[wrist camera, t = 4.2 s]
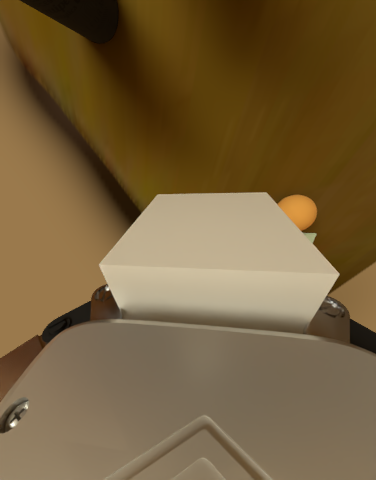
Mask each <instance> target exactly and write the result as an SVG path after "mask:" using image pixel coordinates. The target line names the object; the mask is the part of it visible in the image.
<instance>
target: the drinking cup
mask: <svg viewBox="0 0 376 480" xmlns="http://www.w3.org/2000/svg"><path fill="white" fill-rule="evenodd" d="M20 1H22V2H24V3H26V4H27V5H29V6H31V7H33V8H34V9H36V10H38V11H40V12H41V13H43V14H45V15H47V16H49V17H50V18H52V19H54V20H56V21H57V22H59V23H61V24H63V25H64V26H66V27H68V28H70V29H72V30H73V31H75V32H77V33H79V34H80V35H82V36H84V37H86V38H87V39H89V40H91V41H93V42H95V43H105V42H107V41H109V40H110V39H111V38H112V37H113V35H114V33H115V31H116V28H117V24H118V5H117V0H20Z"/></svg>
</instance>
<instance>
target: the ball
mask: <svg viewBox="0 0 376 480" xmlns="http://www.w3.org/2000/svg"><path fill="white" fill-rule="evenodd" d="M277 205H278V206H279V207H280V208H281V209H282V210H283V212H284V213H285V214H286V215H287V216H288V217H289V218H290V219H291V220H292V222H293V223H294V224H295V225H296V226H297V227H298V228H299V229H300V230H301V231H302V230H304V229H306V228H308V227H309V226H310V225H311V224H312V223H313V222H314V221H315V219H316V216H317V208H316V205H315V204H314V202H313V201H312V200H311V199H310V198H308V197H306V196H303V195H291V196H288V197H286V198H284V199H282V200H281V201H280V202H279V203H278V204H277Z"/></svg>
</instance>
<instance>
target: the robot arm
mask: <svg viewBox="0 0 376 480" xmlns="http://www.w3.org/2000/svg"><path fill="white" fill-rule="evenodd" d="M0 480H376V333H375V332H373V331H371V330H369V329H368V328H366V327H364V326H362V325H361V324H359V323H357V322H355V321H353V320H352V319H350V315H349V312H348V310H347V308H346V307H345V306H344V305H343V304H341V303H340V302H339V301H337V300H335V299H334V298H331V297H328V296H326V297H325V299H324V301H323V302H322V304H321V305H320V307H319V309H318V310H317V312H316V314H315V315H314V317H313V318H312V320H311V322H307V324H306V326H305V327H304V329H303V334H296V333H287V332H277V331H266V330H254V329H243V328H231V327H219V326H207V325H195V324H183V323H170V322H157V321H144V320H127V319H124V314H123V312H122V310H121V308H119V307H118V305H117V303H116V301H115V299H114V297H113V294H112V292H111V290H110V288H109V286H108V284H106V285H103V286H101V287H99V288H98V289H96V290H95V291H94V293H93V294H92V298H91V301H89V302H87V303H85V304H84V305H81V306H80V307H78V308H76V309H74V310H72V311H70V312H68V313H66V314H64V315H62V316H60V317H58V318H57V319H55V320H53V321H52V322H51V323H50V324H48V326H47V327H46V328H45V329H44V331H43V333H42V335H41V336H38V335H36V336H34V337H33V338H32V339H30V340H28V341H27V342H25V343H24V344H22V345H20V346H19V347H17V348H16V349H14V350H13V351H11V352H9V353H8V354H7V355H5V356H3V357H2V358H0Z"/></svg>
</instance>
